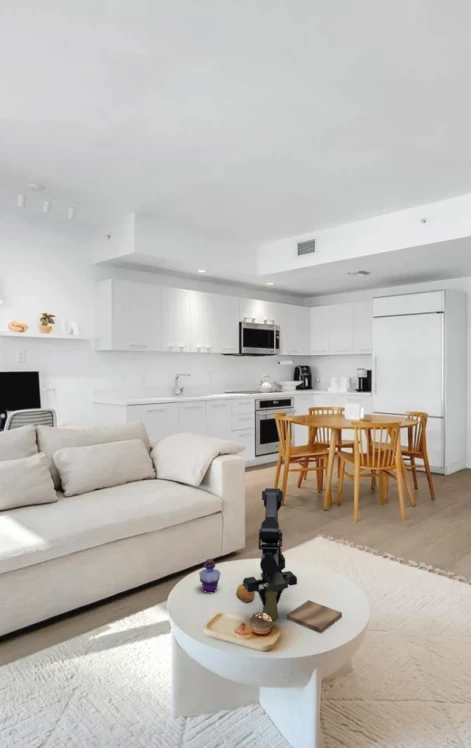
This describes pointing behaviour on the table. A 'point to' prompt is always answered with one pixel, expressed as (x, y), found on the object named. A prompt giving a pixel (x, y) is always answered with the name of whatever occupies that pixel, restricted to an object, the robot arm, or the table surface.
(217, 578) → the potion bottle
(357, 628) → the table surface
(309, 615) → the walnut board
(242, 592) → the pastry
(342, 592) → the table surface
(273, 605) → the olive rounded upright piece
